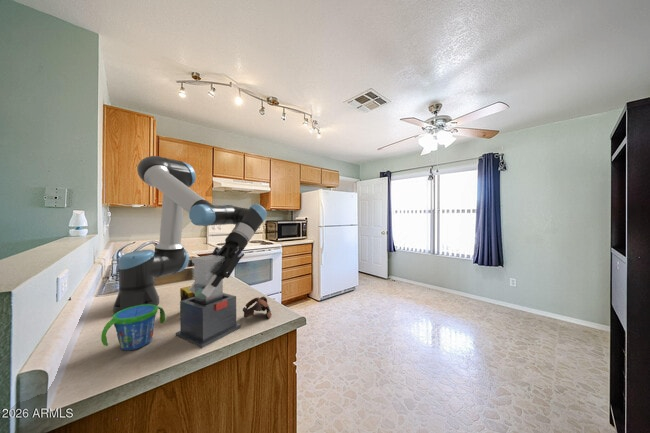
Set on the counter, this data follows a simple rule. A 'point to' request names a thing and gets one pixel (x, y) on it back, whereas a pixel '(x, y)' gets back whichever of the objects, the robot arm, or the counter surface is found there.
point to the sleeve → (207, 320)
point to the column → (207, 278)
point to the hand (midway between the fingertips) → (198, 293)
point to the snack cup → (134, 326)
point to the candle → (186, 293)
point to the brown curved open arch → (257, 307)
